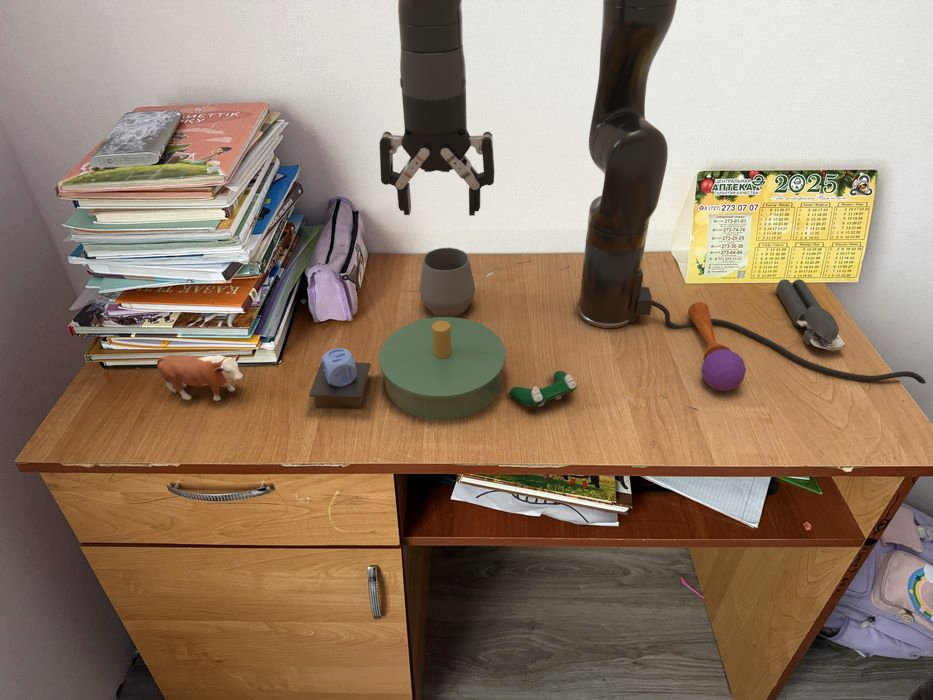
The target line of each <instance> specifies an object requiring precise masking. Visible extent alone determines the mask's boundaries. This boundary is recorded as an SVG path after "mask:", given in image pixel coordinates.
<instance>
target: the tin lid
mask: <svg viewBox="0 0 933 700" xmlns="http://www.w3.org/2000/svg"><path fill="white" fill-rule="evenodd" d="M378 360H379V367H380V370H381V373H382V375H383V377H384V376H385V378H386V379H387V380H388V381H389V382H390V383H391V384H392V385H393V386H395V387H396V388H398V389H400V390H402V391H403V392H406V393H408V394H411V395H414V396H418V397H423V398H431V399H448V398H456V397H461V396H465V395H469V394H472V393H474V392H477V391H479V390H481V389H483V388H485V387H486V386H488V385H489V384H490V383H492V382H493V381H494V380H495V379H496V378H497V377H498V375H499V374H500V373H501V371H502V369H503V370H504V367H505V363H506V349H505V345H504V343H503V341H502V340H501V338H500V337H499V335H497V334H496V332H494V331H493V330H492V329H490V328H489V327H488V326H485V325H484V324H481V323H479V322H477V321H474V320H471V319H467V318H464V317H463V318H462V317H457V316H455V317H439V316H435V317H429V318H424V319H419V320H416V321H413V322H410V323H408V324H405V325H403V326H402V327H399V328H397V330H395V331H394V332H392V333H391V335H389V336H388V337H387V338H386V339H385V341H384V342H383V344H382V346H381V348H380V351H379V355H378Z"/></svg>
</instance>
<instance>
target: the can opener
mask: <svg viewBox="0 0 933 700" xmlns="http://www.w3.org/2000/svg"><path fill="white" fill-rule="evenodd" d="M775 290H776V294H777V296H778V297H779V299H780V301H781V302H782V305H783V306H784V308H785V309H786V311H787V313H788V314H789V317H790V318H791V320H792V321H793V323H794V325H795V326H796V327H797V328H800V329H801V328H805V327H806V328H807V330H805V331H804V335H803V340H804V342H805V343H806V345H807V346H810V345H812V346H813V347H815V348H819V349H825V350H827V351H838V350H843V349H844V348H845V347H846V343H845V342H844V340H843V339H842V338H841V336H840V334H839V333H840V329H839V324H838V323H837V321H836V319H835V318H834V316H833V315H832V314H831V313H830V312H829V311H827V310H826V309H824V308H823V307H822V306H821V304H820V303H819V301H818V300H817V298H816V297H815V295H814V294H813V293H812V291H811V289H810V287H808V284H806V282H805V281H804V280H803V279H796V280H794V281H793V282H792V283H791V281H790V280H789V279H785V278H784V279H781V280H779V282H778V284H777V286H776V289H775Z"/></svg>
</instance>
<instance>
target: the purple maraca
mask: <svg viewBox="0 0 933 700" xmlns="http://www.w3.org/2000/svg"><path fill="white" fill-rule="evenodd" d="M687 314H688V317H689V318H690V319H691V321H692V323H693V322H694V324H695V325H696V326H695V328H696V329H697V330H698V332H699V333H700V334H701V336H702V338H703V340H704V341H705V342H706V344H707V348H706V350H705V353H704V354H703V361H702V365H701V374H702V377H703V380H704V382H705V383H706V384H707V385H708V386H709V387H711V388H712V389H715V390H717V391H720V392H721V391H722V392H723V391H724V392H727V391H731V390H734V389H736V388H737V387H739V386H740V385H741V384H742V383H743V381H744V380H745V375H746V371H747V368H746V364H745V362H744V360H743V358H742V357H741V356H740V355H739V353H736V352H734V351H733V350H731V349H730V347H727V346H725V345H723V344H720V343H718V342H716V336H715V333H714V327H713V324H712V322H711V319H712V318H711V314H710V309H709V306H708V305H707V304H706V303H705V302H702V301H697V302H694V303H692V304H691V305H690V306H689V308H688V310H687Z"/></svg>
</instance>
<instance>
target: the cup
mask: <svg viewBox="0 0 933 700" xmlns="http://www.w3.org/2000/svg"><path fill="white" fill-rule="evenodd" d="M418 291H419V295H420V296H419V297H420V299H421V301H422V302H423V303H424V305H425V307H427V309H428V310H429V311H430V312H431V314H433V315H435V317H458V316H461V315H463V314H464V313H465V312H466V311H467V309H468V307H469V306H470V304H471V303H472V301H473V299H474V296H475V293H476V285H475V280H474V276H473V270H472V266H471V261H470V258H469V255H468V254H467V253H466V252H465V251H464V250H462V249H459V248H455V247H439V248H435V249H432V250H430V251H428V252H427V253H426V254H424V255H423V259H422V265H421V272H420V280H419V290H418Z"/></svg>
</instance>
